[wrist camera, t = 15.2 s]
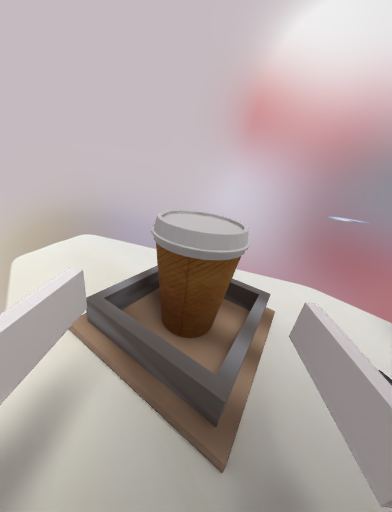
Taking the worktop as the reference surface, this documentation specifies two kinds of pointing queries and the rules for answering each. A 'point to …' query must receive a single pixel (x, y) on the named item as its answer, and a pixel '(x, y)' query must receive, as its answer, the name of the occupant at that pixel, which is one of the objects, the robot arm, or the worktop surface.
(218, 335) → the cup holder plate
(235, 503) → the worktop surface
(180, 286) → the disposable coffee cup
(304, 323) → the robot arm
